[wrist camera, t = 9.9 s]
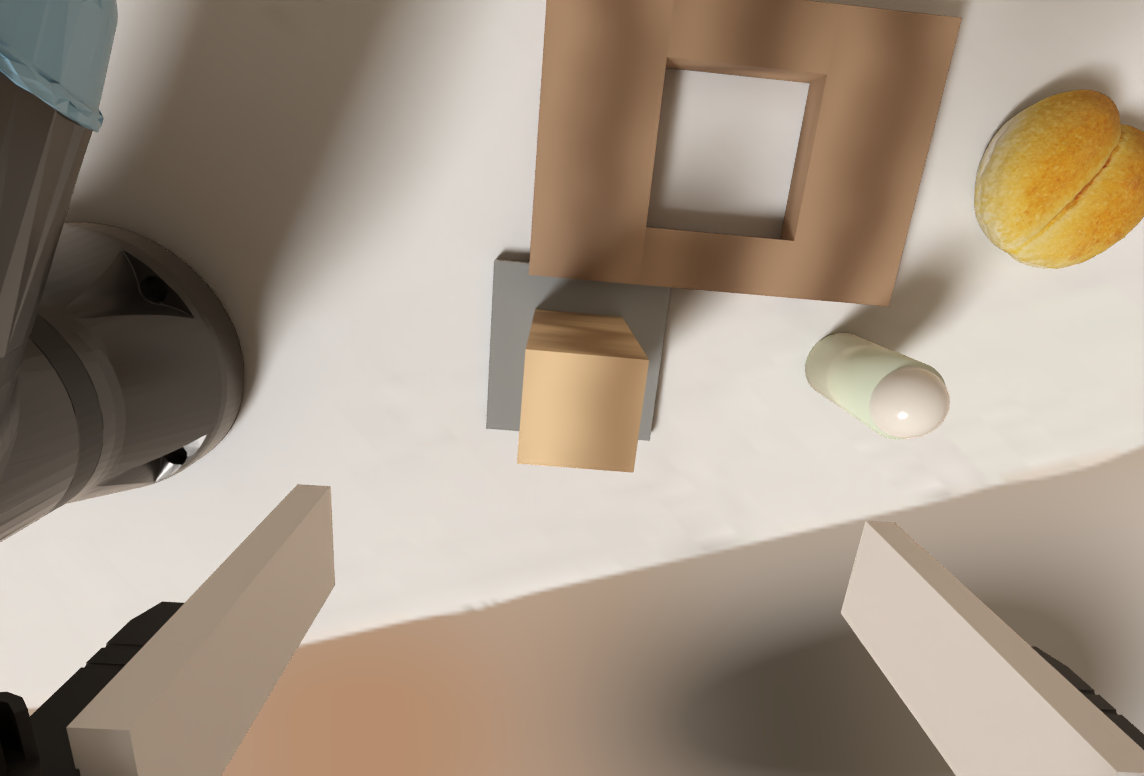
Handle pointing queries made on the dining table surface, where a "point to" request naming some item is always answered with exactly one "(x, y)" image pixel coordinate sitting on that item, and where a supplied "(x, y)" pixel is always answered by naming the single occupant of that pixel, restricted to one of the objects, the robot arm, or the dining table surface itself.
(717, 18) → the walnut board
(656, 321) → the slate board
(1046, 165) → the bread roll
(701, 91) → the dining table surface
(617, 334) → the oak block
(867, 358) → the sage shaker
